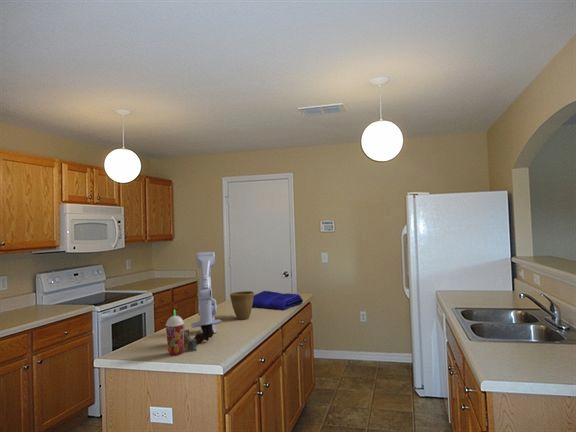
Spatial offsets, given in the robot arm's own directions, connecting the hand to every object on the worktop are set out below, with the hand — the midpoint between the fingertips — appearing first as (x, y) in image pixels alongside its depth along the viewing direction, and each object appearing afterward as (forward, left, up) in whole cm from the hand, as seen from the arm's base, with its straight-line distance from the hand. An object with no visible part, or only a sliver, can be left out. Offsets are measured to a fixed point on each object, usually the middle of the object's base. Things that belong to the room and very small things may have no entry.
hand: (206, 340), depth 199 cm
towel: (-70, +62, -2) cm, 94 cm away
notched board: (0, -9, -1) cm, 9 cm away
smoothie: (+11, -16, -1) cm, 20 cm away
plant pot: (-41, +31, -1) cm, 51 cm away
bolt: (-5, -1, -2) cm, 5 cm away
